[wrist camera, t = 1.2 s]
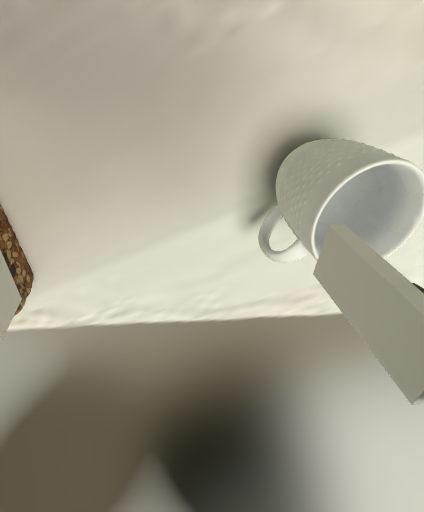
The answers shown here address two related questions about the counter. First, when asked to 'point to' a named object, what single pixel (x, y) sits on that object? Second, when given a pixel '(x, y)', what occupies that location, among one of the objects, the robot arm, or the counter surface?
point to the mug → (344, 197)
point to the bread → (15, 260)
